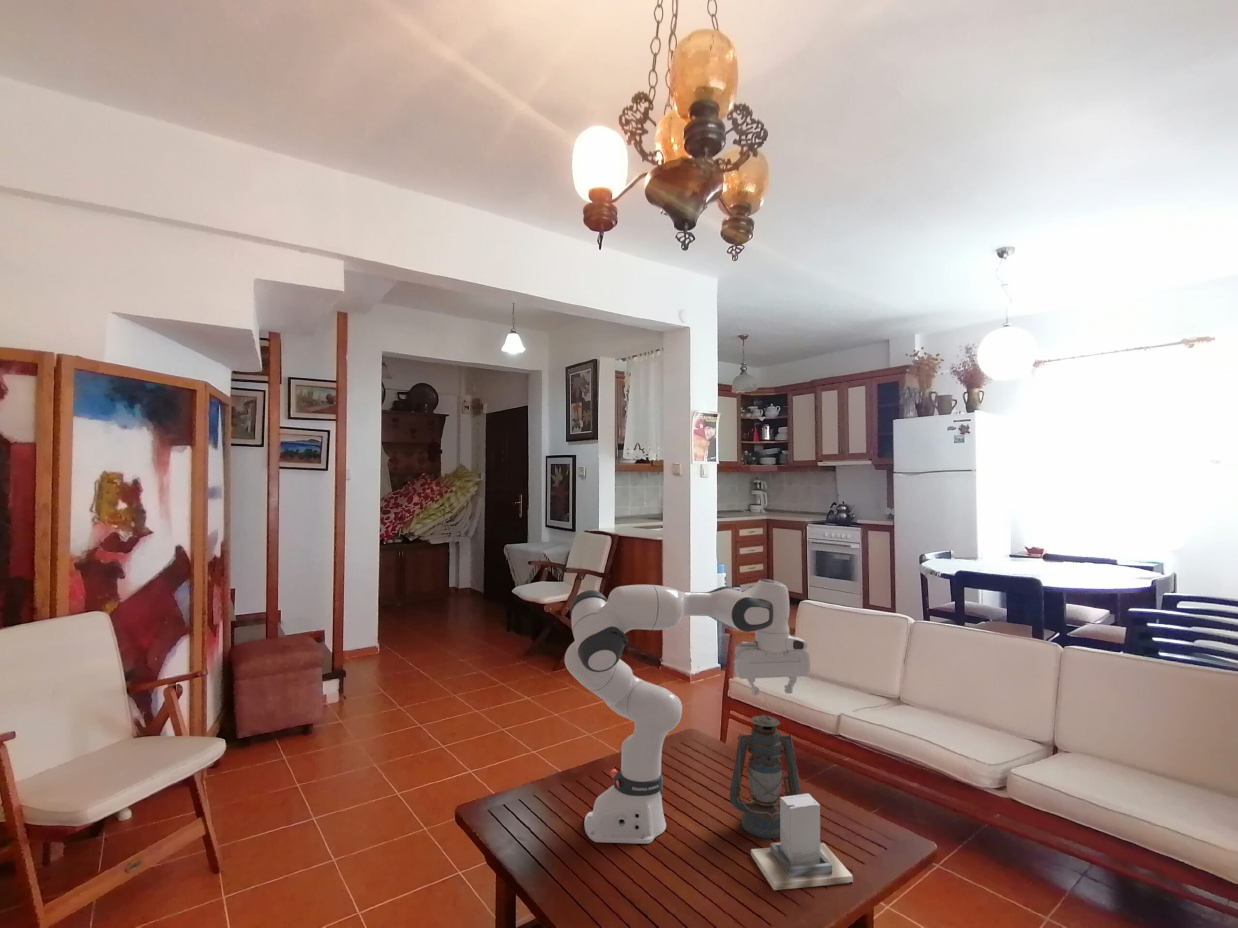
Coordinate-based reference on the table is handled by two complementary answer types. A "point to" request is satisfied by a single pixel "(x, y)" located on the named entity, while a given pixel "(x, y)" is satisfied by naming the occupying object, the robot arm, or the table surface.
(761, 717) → the lantern
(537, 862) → the table surface
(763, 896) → the table surface
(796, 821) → the skincare box
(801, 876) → the board
